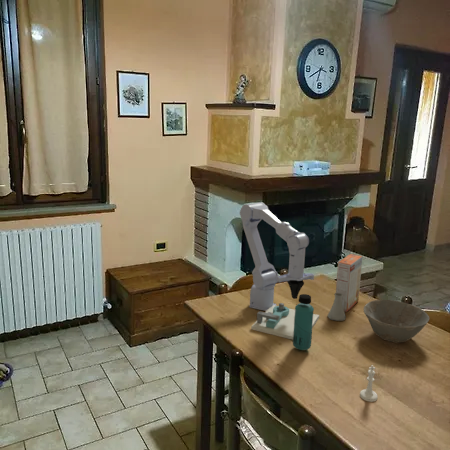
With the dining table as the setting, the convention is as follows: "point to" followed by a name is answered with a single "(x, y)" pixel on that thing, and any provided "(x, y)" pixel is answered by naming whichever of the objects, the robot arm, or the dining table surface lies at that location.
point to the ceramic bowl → (395, 319)
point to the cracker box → (349, 280)
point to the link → (273, 323)
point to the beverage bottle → (303, 323)
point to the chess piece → (369, 387)
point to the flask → (337, 309)
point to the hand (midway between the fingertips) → (294, 297)
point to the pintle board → (284, 324)
